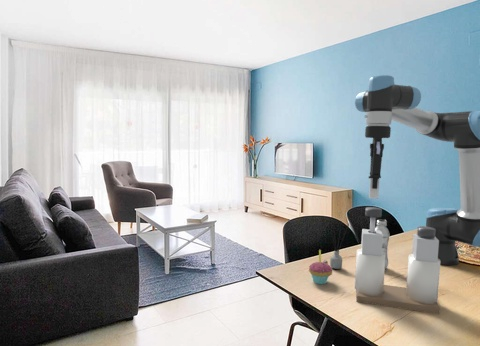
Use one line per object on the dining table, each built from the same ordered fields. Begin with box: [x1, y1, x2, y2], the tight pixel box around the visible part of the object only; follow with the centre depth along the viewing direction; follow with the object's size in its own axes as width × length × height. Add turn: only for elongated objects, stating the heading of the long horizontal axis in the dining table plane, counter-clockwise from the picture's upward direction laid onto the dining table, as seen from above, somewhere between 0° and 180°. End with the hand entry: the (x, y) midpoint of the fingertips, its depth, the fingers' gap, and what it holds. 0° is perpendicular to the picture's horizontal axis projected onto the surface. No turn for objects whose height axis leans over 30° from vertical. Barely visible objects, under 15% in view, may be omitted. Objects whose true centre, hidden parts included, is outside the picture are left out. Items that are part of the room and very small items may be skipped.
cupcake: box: [308, 250, 333, 285], centre depth 124 cm, size 9×8×12 cm
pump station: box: [354, 228, 441, 315], centre depth 111 cm, size 25×12×22 cm, turn 73°
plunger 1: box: [364, 206, 383, 233], centre depth 111 cm, size 5×5×9 cm
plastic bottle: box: [375, 219, 390, 270], centre depth 137 cm, size 6×7×20 cm
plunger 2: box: [416, 225, 436, 238], centre depth 107 cm, size 5×5×9 cm
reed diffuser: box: [322, 219, 350, 270], centre depth 136 cm, size 10×7×20 cm
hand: (373, 198), depth 110 cm, fingers closed
